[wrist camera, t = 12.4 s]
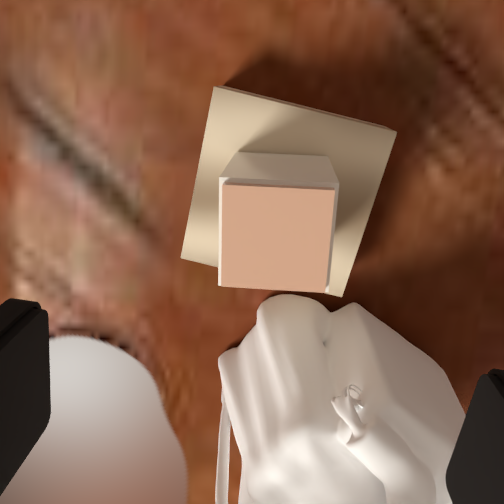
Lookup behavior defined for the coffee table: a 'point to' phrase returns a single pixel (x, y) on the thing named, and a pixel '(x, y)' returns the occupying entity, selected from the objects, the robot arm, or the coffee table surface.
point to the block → (297, 143)
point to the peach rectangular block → (277, 222)
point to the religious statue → (334, 410)
